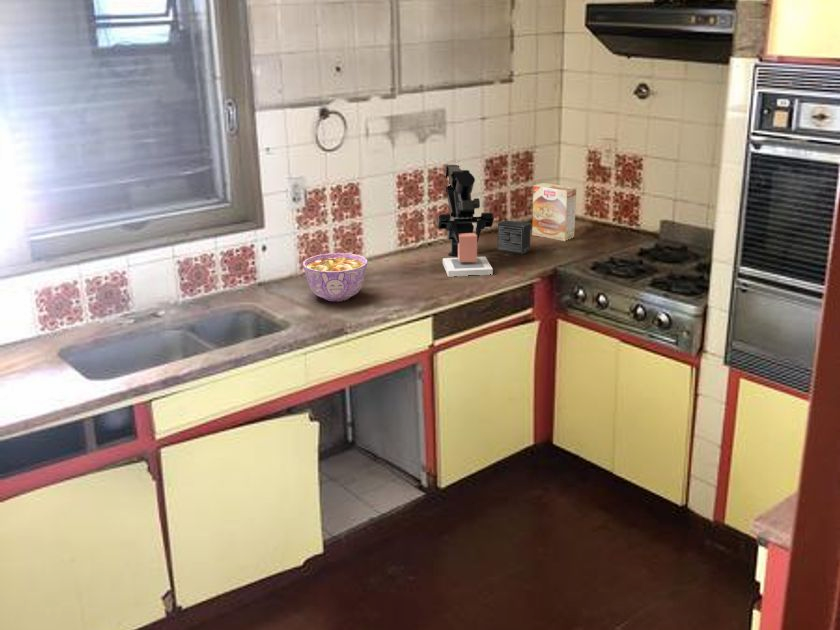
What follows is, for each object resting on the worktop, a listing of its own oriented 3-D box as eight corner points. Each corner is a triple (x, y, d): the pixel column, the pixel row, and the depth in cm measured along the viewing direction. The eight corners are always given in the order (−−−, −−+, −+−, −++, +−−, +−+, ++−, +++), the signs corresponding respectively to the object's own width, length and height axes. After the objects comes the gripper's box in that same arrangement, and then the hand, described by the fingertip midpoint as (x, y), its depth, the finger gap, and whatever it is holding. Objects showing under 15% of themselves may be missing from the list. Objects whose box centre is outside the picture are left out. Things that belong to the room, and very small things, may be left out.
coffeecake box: (531, 235, 356) (532, 185, 349) (541, 231, 361) (543, 182, 354) (564, 241, 346) (567, 190, 340) (574, 237, 352) (577, 187, 345)
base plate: (442, 263, 322) (442, 257, 321) (485, 261, 323) (485, 255, 323) (448, 276, 308) (448, 270, 307) (492, 274, 309) (492, 268, 309)
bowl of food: (335, 312, 277) (333, 275, 273) (291, 298, 289) (289, 263, 285) (381, 296, 290) (380, 260, 286) (338, 283, 303) (337, 249, 299)
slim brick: (475, 258, 317) (475, 232, 314) (477, 261, 313) (477, 236, 310) (457, 258, 316) (457, 233, 313) (459, 262, 312) (459, 236, 309)
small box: (530, 250, 336) (531, 222, 332) (522, 255, 331) (523, 226, 327) (505, 246, 341) (505, 219, 338) (496, 251, 336) (497, 223, 332)
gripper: (438, 190, 309) (442, 231, 303) (493, 189, 311) (498, 229, 304) (435, 208, 319) (439, 247, 313) (489, 206, 321) (494, 245, 315)
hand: (468, 242), depth 311 cm, fingers open, 6 cm apart
